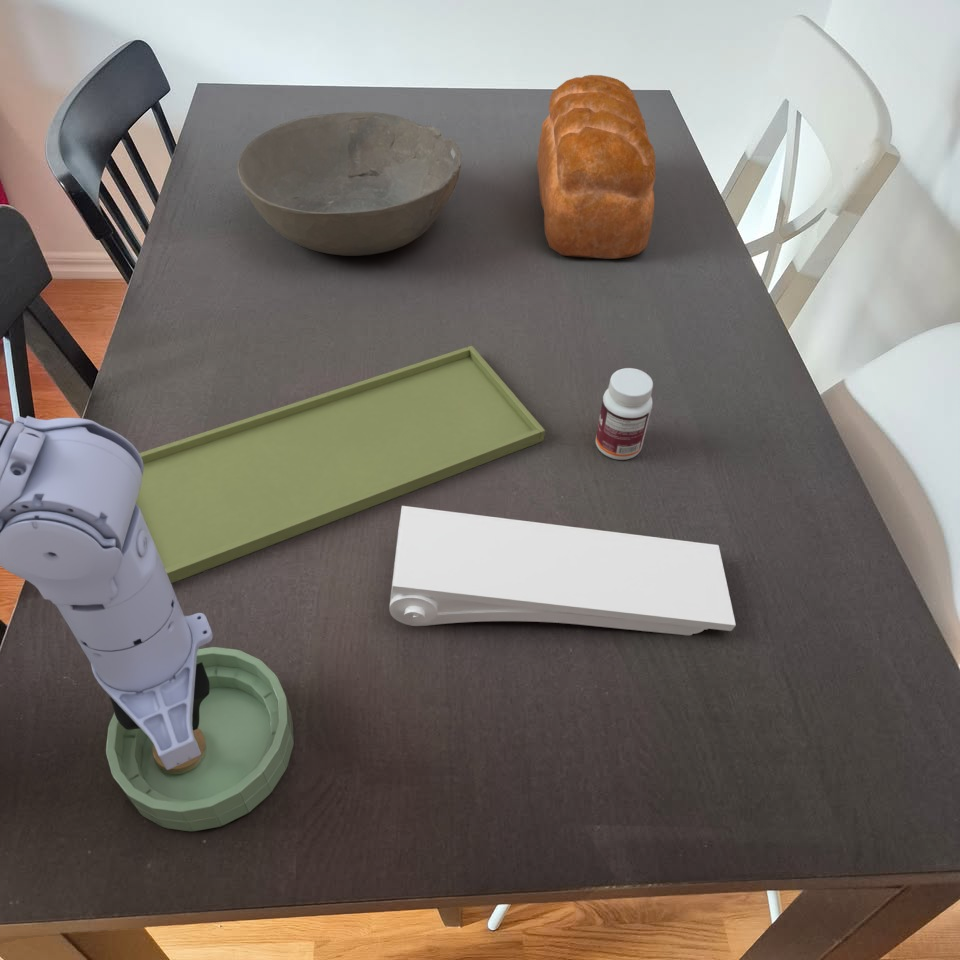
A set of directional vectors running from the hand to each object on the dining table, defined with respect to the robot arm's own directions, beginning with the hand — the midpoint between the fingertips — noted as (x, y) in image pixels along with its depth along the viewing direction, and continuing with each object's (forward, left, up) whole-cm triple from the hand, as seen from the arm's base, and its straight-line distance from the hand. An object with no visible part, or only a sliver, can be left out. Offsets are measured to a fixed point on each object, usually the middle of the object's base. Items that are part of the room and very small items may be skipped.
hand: (178, 718), depth 58 cm
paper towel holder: (-1, 0, -4) cm, 4 cm away
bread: (+70, +51, -5) cm, 87 cm away
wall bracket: (+32, -1, -5) cm, 32 cm away
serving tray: (+21, +23, -5) cm, 31 cm away
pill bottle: (+47, +12, -5) cm, 48 cm away
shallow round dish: (+1, 0, -5) cm, 5 cm away
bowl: (+40, +62, -5) cm, 73 cm away
